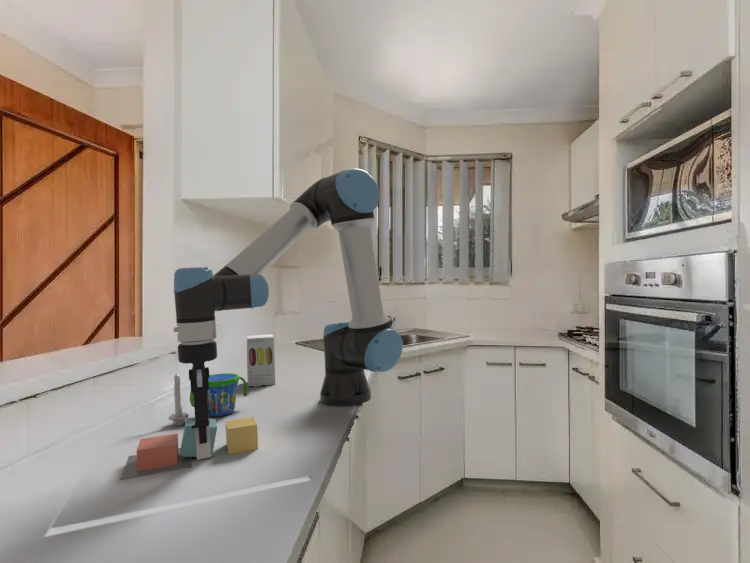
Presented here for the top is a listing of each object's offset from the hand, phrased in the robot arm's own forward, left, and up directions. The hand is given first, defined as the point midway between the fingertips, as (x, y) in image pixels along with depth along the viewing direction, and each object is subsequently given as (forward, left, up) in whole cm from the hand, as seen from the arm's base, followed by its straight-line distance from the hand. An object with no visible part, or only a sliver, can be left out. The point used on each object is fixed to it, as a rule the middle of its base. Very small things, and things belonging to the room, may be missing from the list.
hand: (203, 451), depth 94 cm
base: (+7, +4, -1) cm, 8 cm away
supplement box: (+11, -65, -1) cm, 66 cm away
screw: (+17, -21, -1) cm, 27 cm away
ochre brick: (-7, -4, -1) cm, 8 cm away
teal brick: (+1, +1, 0) cm, 1 cm away
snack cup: (+10, -30, -1) cm, 32 cm away
